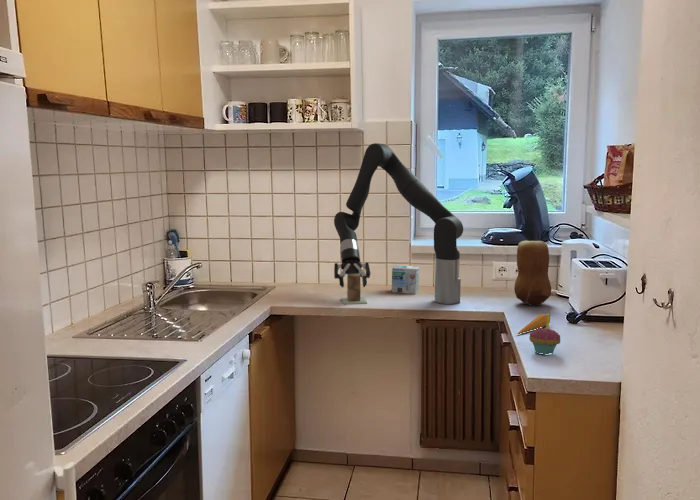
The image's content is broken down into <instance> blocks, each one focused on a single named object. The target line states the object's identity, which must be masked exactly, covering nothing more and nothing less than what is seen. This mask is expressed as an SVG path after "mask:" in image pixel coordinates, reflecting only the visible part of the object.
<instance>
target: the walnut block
mask: <svg viewBox="0 0 700 500" xmlns="http://www.w3.org/2000/svg"><path fill="white" fill-rule="evenodd" d="M346 276H347V277H346V280H347V286H346V288H347V290H346V291H347V292H346V293H347V295H346V296H347V297H346V298H347V299H348V301H360V297H361V277H360V275H359V274H346Z"/></svg>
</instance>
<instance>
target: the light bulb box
mask: <svg viewBox="0 0 700 500" xmlns="http://www.w3.org/2000/svg"><path fill="white" fill-rule="evenodd" d="M419 292H420V266H418V265H402V264H401V265H400V264H399V265H394V266H392V268H391V293H396V294H399V293H400V294H410V295H416V294H417V293H419Z"/></svg>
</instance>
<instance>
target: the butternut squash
mask: <svg viewBox="0 0 700 500" xmlns="http://www.w3.org/2000/svg"><path fill="white" fill-rule="evenodd" d="M516 266H517V272H518V273H517V276H516V278H515V281H514V294H515V297H516V299H518V300H520V301H521V302H522V303H524V304H525V305H529V304H531V305H530V306H532V305H537V306H540V305H542V304H544V303H545V302H546V301H548V300H549V298H550V296H551V295H552V283H551V281H550V277H549V266H550V252H549V247H548V244H547V243H546V241H545V242H544V241H543V240H522V241H520V242H518V245H517V249H516Z"/></svg>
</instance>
